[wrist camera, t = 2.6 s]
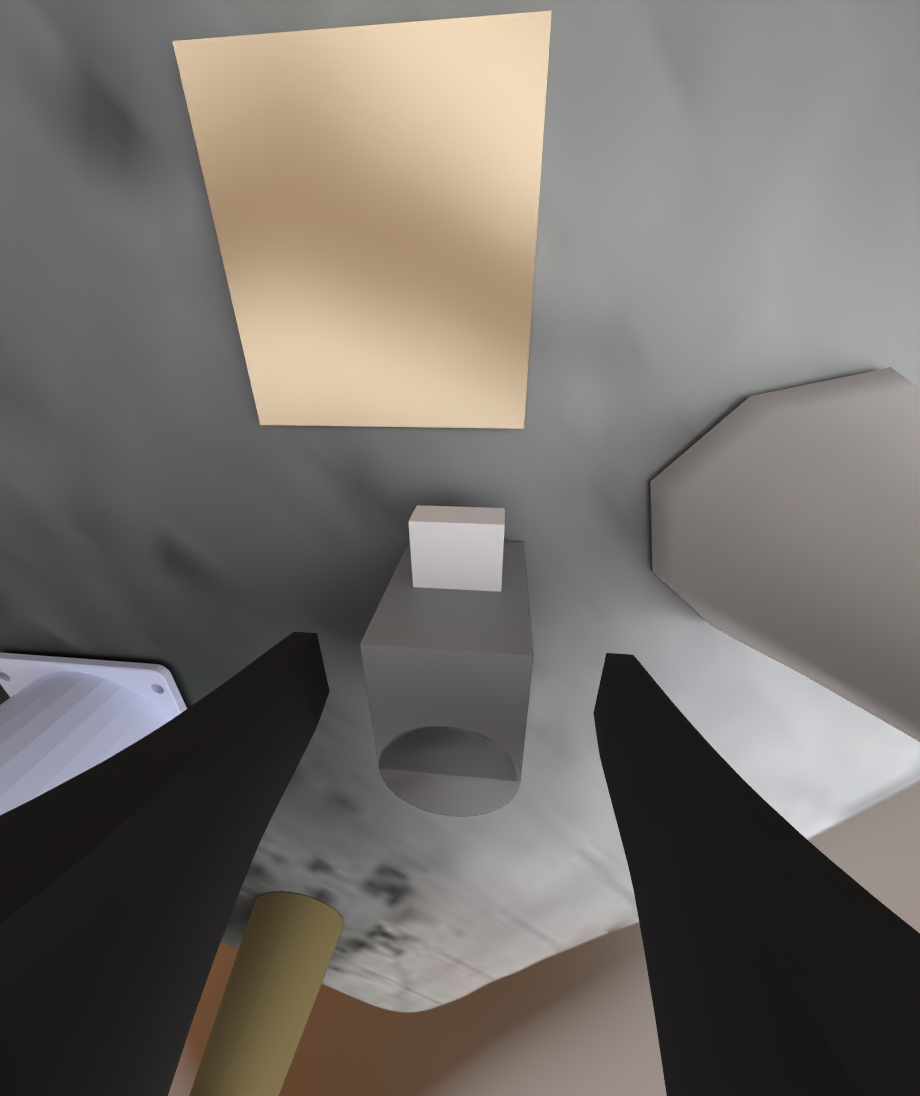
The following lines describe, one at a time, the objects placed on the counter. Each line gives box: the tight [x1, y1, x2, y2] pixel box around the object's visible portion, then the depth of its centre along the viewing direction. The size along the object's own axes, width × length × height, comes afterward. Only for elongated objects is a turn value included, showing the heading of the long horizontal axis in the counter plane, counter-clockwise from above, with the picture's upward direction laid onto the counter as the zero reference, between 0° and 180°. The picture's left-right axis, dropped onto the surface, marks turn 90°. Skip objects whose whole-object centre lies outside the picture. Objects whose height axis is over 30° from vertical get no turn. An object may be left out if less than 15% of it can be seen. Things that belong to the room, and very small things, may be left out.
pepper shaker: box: [190, 892, 344, 1096], centre depth 22 cm, size 6×6×11 cm
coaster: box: [173, 11, 552, 429], centre depth 9 cm, size 7×7×1 cm
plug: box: [360, 505, 533, 817], centre depth 11 cm, size 8×4×5 cm, turn 0°
